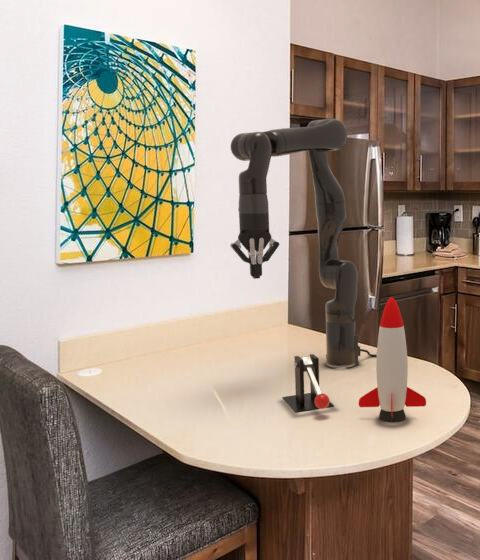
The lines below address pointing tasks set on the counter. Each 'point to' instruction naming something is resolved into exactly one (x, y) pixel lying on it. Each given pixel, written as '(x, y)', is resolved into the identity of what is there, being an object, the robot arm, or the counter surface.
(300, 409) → the bracket
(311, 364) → the lever
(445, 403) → the counter surface
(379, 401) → the toy rocket
